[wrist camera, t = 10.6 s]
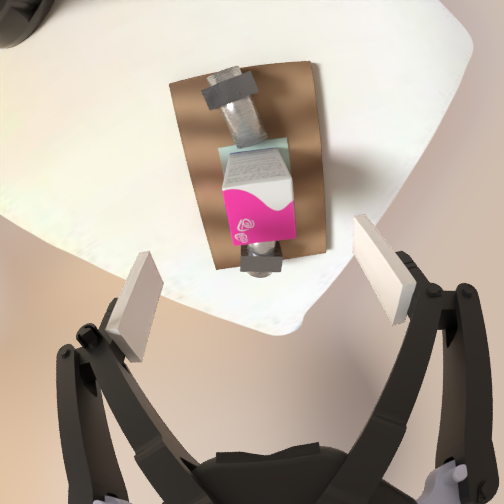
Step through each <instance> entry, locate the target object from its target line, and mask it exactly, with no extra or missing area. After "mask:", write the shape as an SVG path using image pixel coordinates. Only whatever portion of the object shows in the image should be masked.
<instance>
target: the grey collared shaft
mask: <svg viewBox="0 0 504 504" xmlns="http://www.w3.org/2000/svg"><path fill="white" fill-rule="evenodd" d="M206 79H207V82H208V84H209V86H210V87H207V88H205V89H203V90H201V92H202V95H203V97H204V99H205V101H206V103H207V106H208V108H209V110H210V111H211V110H213V109H216V108H218V107H219V108H220V110H221V113H222V115H223V117H224V120H225V122H226V124H227V126H228V129H229V131H230V133H231V136H232V138H233V140H234V142H235V145H236V147H237V149H243V148H247V147H250V146H253V145H255V144H258V143H260V142H262V141H264V140H266V139H267V138H268V135H267V133H266V130H265V128H264V125H263V123H262V120H261V118H260V115H259V113H258V110H257V108H256V105H255V103H254V101H253V98H252V96H251V95H252V94H255V93H258V92H259V90H258V88H257V85H256V83H255V80H254V78H253V76H252V73H251V71H249V72H246V73H243V74H242V73H241V70H240V68H239V66H235V67H231V68H228V69H225V70H222V71H220V72H217V73H215V74H213V75H211V76H209V77H207V78H206Z"/></svg>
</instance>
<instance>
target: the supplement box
mask: <svg viewBox="0 0 504 504" xmlns="http://www.w3.org/2000/svg"><path fill="white" fill-rule="evenodd" d="M222 192H223V197H224V203H225V207H226V212H227V217H228V222H229V227H230V232H231V236H232V241H233V245H234V246H239V245H247V244H253V243H260V242H269V241H278V240H287V239H295V238H296V215H295V203H294V191H293V181H292V177H291V175H290V173H289V171H288V169H287V167H286V165H285V163H284V161H283V158H282V157H281V155H280V152H279V150H278V148H277V147H276V148H267V149H259V150H251V151H243V152H236V153H231V154H230V155H229V159H228V163H227V168H226V172H225V177H224V182H223V186H222Z"/></svg>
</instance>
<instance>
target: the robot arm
mask: <svg viewBox="0 0 504 504" xmlns="http://www.w3.org/2000/svg"><path fill="white" fill-rule="evenodd" d="M53 2H54V0H0V49H2V48H11V47H14V46H16V45H18V44H19V43H21V42H22V41H23V40H25V39H26V38H27V37H28V36H29V35H30V34H31V33H32V32H33V31H34V30H35V29H36V28H37V26H38V25H39V24H40V23H41V21H42V20H43V19H44V17H45V16H46V14H47V12H48V11H49V9H50V7H51V5H52V4H53ZM353 254H354V255H355V257H356V259H357V260H358V262H359V264H360V266H361V268H362V269H363V271H364V273H365V275H366V276H367V278H368V280H369V282H370V284H371V286H372V287H373V289H374V291H375V293H376V295H377V297H378V299H379V301H380V303H381V304H382V306H383V308H384V310H385V312H386V314H387V316H388V318H389V320H390V322H391V324H392V326H393V325H396V324H400V323H403V322H405V320H406V317H407V315H408V316H409V318H410V323H409V326H408V329H407V332H406V335H405V338H404V340H403V343H402V346H401V348H400V351H399V354H398V356H397V359H396V361H395V364H394V366H393V368H392V371H391V373H390V375H389V378H388V380H387V382H386V385H385V387H384V389H383V391H382V393H381V395H380V397H379V399H378V402H377V404H376V406H375V408H374V410H373V412H372V414H371V415H370V417H369V419H368V421H367V423H366V425H365V427H364V428H363V430H362V432H361V434H360V435H359V437H358V439H357V441H356V442H355V444H354V445H353V447H352V449H351V450H350V452H349V454H346V453H345V452H343V451H340V450H338V449H335V448H331V447H325V446H319V442H316V443H311V444H305V445H299V446H293V447H290V448H288V449H285V450H282V451H280V452H277V453H274V454H271V455H258V454H252V453H246V452H217V453H216V457H215V458H212V459H209V460H207V461H205V462H203V463H202V464H199V463H198V462H197V461H196V460H195V459H194V458H193V457H192V456H191V455H190V454H189V453H188V452H187V451H186V450H185V449H184V447H183V446H182V445H181V444H180V442H179V441H178V440H177V439H176V437H175V436H174V435H173V434H172V432H171V431H170V430H169V428H168V427H167V426H166V424H165V423H164V422H163V420H162V419H161V418H160V416H159V415H158V413H157V412H156V410H155V409H154V408H153V406H152V405H151V403H150V402H149V400H148V399H147V397H146V396H145V394H144V393H143V391H142V390H141V388H140V387H139V385H138V383H137V382H136V380H135V379H134V377H133V375H132V374H131V372H130V370H129V369H128V367H127V365H126V364H125V363H124V359H125V356H126V358H127V359H128V360H129V361H130V362H142V360H143V356H144V352H145V348H146V344H147V341H148V337H149V333H150V329H151V325H152V322H153V318H154V314H155V311H156V308H157V304H158V301H159V297H160V294H161V291H162V287H163V284H164V283H163V281H162V278H161V276H160V274H159V272H158V270H157V267H156V265H155V263H154V261H153V258H152V256H151V254H150V251H147V252H142V253H139V255H138V257H137V259H136V261H135V263H134V265H133V267H132V269H131V271H130V273H129V275H128V278H127V280H126V282H125V284H124V286H123V289H122V291H121V293H120V295H119V297H118V298H114V299H113V301H112V302H111V303H110V304H109V306H108V308H107V312H106V313H105V315H104V318H103V320H102V322H101V325H100V327H99V330H98V329H97V327H96V326H95V325H94V324H92V323H89V324H86V325H84V326H82V327H81V328H80V329H79V331H78V332H77V335H76V339H77V340H78V342H79V343H80V344H81V345H82V347H80V348H77V349H75V348H74V347H73V346H72V345H71V344H66V345H64V346H62V347H61V348H60V349H59V351H58V353H57V361H56V362H57V364H56V386H57V408H58V420H59V431H60V438H61V446H62V453H63V459H64V464H65V469H66V474H67V479H68V483H69V490H68V504H131V503H130V502H129V499H128V494H127V490H126V487H125V483H124V480H123V477H122V474H121V471H120V468H119V465H118V462H117V458H116V455H115V451H114V448H113V444H112V440H111V437H110V432H109V428H108V424H107V419H106V415H105V410H104V405H103V399H102V394H101V390H102V392H103V394H104V396H105V398H106V400H107V402H108V404H109V406H110V408H111V410H112V412H113V414H114V416H115V418H116V420H117V422H118V423H119V426H120V427H121V429H122V431H123V433H124V434H125V436H126V438H127V440H128V441H129V443H130V445H131V446H132V448H133V450H134V451H135V453H136V455H135V456H134V458H135V460H136V462H137V464H138V466H139V467H140V469H141V470H142V471H143V473H144V474H145V476H146V477H147V479H148V480H149V482H150V483H151V485H152V486H153V487H154V489H155V490H156V491H157V493H158V494H159V495H160V497H161V498H162V499H163V501H164V502H163V503H162V504H486V503H487V502H488V501H490V500H491V499H492V498H493V496H494V495H495V494H496V492H497V490H498V487H499V476H498V470H497V463H496V457H495V452H494V447H493V442H492V421H493V405H492V404H493V398H492V378H491V367H490V357H489V349H488V342H487V335H486V329H485V324H484V319H483V314H482V310H481V305H480V300H479V296H478V292H477V290H476V289H475V288H474V287H473V286H472V285H470V284H467V283H461V284H459V285H458V287H457V289H456V291H443V290H442V288H441V287H440V286H439V285H437V284H434V283H430V282H429V281H428V280H427V278H426V277H425V276H424V274H423V273H422V271H421V270H420V269H419V268H418V267H417V265H416V264H415V262H413V260H412V258H411V257H410V256H409V255H408V254H406V253H405V252H403V251H399V252H394V251H393V249H392V248H391V246H390V245H389V244H388V242H387V241H386V240H385V239H384V238H383V236H382V235H381V234H380V232H379V231H378V230H377V229H376V227H375V226H374V225H373V224H372V222H371V221H370V220H369V219H368V218H367V216H366V215H365V214H364V215H358V216H354V233H353ZM437 330H442V334H443V395H442V409H441V420H440V430H439V436H438V443H437V451H436V462H435V469H434V470H433V471H432V472H431V473H430V474H429V475H428V477H427V479H426V482H425V487H424V491H423V493H422V495H421V496H420V497H419V498H418V499H417V500H414V499H413V498H411V497H410V496H408V495H407V494H405V493H403V492H402V491H400V490H399V489H397V488H396V487H394V486H393V485H391V484H389V483H388V482H386V481H385V480H383V479H382V477H383V475H384V474H385V472H386V470H387V468H388V466H389V465H390V463H391V461H392V459H393V457H394V455H395V453H396V451H397V449H398V447H399V445H400V443H401V441H402V439H403V436H404V434H405V432H406V428H407V427H406V424H407V422H408V419H409V417H410V414H411V412H412V409H413V407H414V404H415V402H416V399H417V396H418V393H419V390H420V388H421V385H422V382H423V379H424V376H425V373H426V370H427V366H428V363H429V360H430V356H431V353H432V349H433V345H434V341H435V337H436V333H437Z"/></svg>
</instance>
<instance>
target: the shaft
mask: <svg viewBox="0 0 504 504" xmlns="http://www.w3.org/2000/svg"><path fill="white" fill-rule="evenodd" d="M282 260H283V255H282V251H281V246H280V242H279V241H269V242H260V243H253V244H247V245H241V248H240V272H247V273H248V274H249V275H251V276H253V277H258V278H263V277H267V276H269V275H270V274H271V273H272V272H281V267H282Z"/></svg>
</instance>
